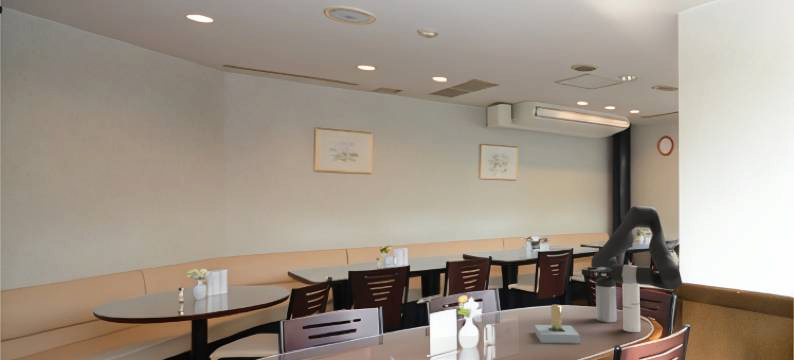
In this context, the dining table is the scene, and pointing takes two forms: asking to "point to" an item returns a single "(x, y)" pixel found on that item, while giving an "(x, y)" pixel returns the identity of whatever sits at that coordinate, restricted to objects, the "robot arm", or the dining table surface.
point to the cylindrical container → (631, 307)
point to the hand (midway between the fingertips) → (584, 270)
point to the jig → (556, 334)
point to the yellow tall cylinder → (556, 318)
